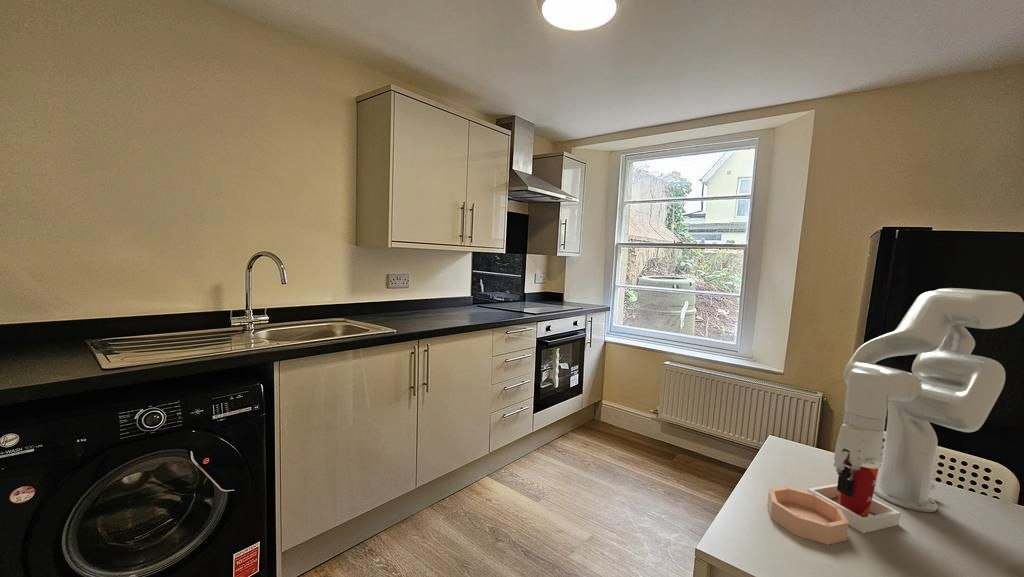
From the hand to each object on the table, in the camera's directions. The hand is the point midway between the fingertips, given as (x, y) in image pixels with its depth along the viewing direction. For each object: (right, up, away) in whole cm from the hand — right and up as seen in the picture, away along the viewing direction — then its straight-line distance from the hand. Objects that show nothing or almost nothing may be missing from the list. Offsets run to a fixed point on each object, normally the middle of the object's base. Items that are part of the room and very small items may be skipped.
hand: (855, 491), depth 98 cm
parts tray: (-1, -5, 0) cm, 5 cm away
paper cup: (0, -5, 0) cm, 5 cm away
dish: (-16, -4, -5) cm, 17 cm away
